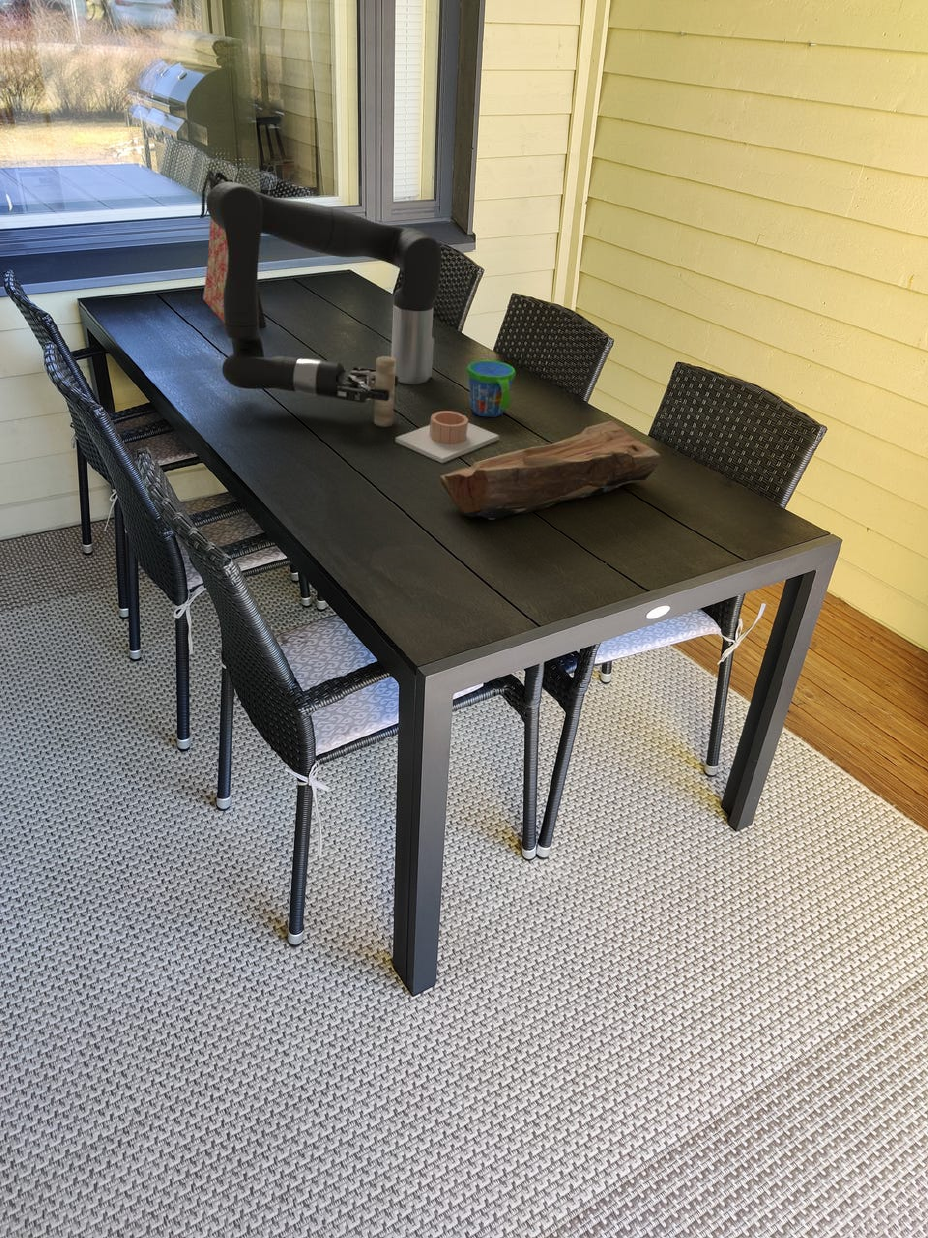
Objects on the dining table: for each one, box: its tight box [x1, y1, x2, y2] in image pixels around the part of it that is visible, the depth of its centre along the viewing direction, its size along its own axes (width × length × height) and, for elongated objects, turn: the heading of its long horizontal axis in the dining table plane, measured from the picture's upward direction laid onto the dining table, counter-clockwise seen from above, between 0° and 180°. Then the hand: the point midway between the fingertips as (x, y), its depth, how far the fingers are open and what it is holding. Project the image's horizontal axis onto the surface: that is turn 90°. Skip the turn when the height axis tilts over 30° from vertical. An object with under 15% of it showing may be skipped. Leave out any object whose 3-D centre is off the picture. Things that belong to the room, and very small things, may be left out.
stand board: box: [395, 422, 500, 464], centre depth 206 cm, size 18×13×1 cm
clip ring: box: [429, 410, 469, 444], centre depth 204 cm, size 8×8×4 cm
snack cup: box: [466, 359, 517, 418], centre depth 218 cm, size 16×10×10 cm
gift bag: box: [199, 170, 267, 328], centre depth 251 cm, size 29×14×35 cm, turn 27°
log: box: [439, 420, 661, 521], centre depth 186 cm, size 42×18×15 cm, turn 122°
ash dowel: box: [373, 355, 396, 428], centre depth 207 cm, size 4×4×14 cm
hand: (393, 388), depth 206 cm, fingers open, 8 cm apart
